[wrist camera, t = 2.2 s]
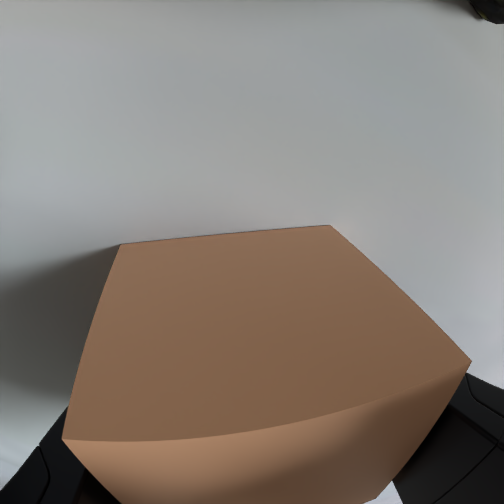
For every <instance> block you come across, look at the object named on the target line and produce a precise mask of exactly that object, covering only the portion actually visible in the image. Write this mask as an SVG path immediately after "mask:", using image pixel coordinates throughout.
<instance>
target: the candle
mask: <svg viewBox="0 0 504 504" xmlns="http://www.w3.org/2000/svg"><path fill="white" fill-rule="evenodd" d="M470 2H471V3H472V5H473V6H474V8H475V9H476V11H477V12H478V13H479V14H480V15H481V16H482V17H483V18H484V19H485V20H487V21H489V22H492V23H495V24H504V0H470Z"/></svg>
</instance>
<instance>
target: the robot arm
mask: <svg viewBox="0 0 504 504" xmlns="http://www.w3.org/2000/svg"><path fill="white" fill-rule="evenodd" d="M68 406H69V405H68ZM67 410H68V407H67V408H66V409H65V410H64V412H63V413H62V414H61V416H60V417H59V418H58V419H57V421H56V422H55V423H54V425H53V426H52V427H51V428H50V430H49V431H48V432H47V434H46V435H45V436H44V438H43V439H42V440H41V442H40V443H39V446H37V447H36V448H35V449H34V451H33V452H32V453H31V455H30V456H29V457H28V459H27V460H26V461H25V462H24V464H23V465H22V466H21V467H20V469H19V470H18V471H17V473H16V474H15V475H14V476H13V477H12V478H11V479H10V481H9V482H8V483H7V484H6V485H5V486H4V487H3V488H2V490H1V491H0V504H122V503H120V502H119V501H118V500H117V499H116V498H115V497H114V496H113V495H112V494H111V493H110V492H109V491H108V490H107V489H106V488H105V487H104V486H103V485H102V484H101V483H100V482H99V481H98V480H97V479H96V478H95V477H94V476H93V475H92V474H91V473H90V472H89V470H88V469H87V468H86V467H85V466H84V465H83V464H82V463H81V462H80V460H79V459H78V458H77V457H76V456H75V455H74V454H73V452H72V451H71V450H70V449H69V448H68V446H67V445H66V444H65V443H64V441H63V440H62V434H63V429H64V424H65V419H66V415H67ZM392 481H393V483H394V486H395V488H396V490H397V492H398V494H399V496H400V498H401V501H402V503H403V504H504V390H503V389H501V388H499V387H496V386H494V385H492V384H489V383H487V382H485V381H483V380H481V379H479V378H477V377H475V376H473V375H471V374H469V373H465V375H464V377H463V379H462V381H461V382H460V384H459V386H458V388H457V389H456V391H455V393H454V394H453V396H452V398H451V399H450V401H449V403H448V404H447V406H446V408H445V409H444V411H443V412H442V414H441V415H440V417H439V418H438V420H437V421H436V423H435V424H434V426H433V427H432V429H431V430H430V432H429V433H428V435H427V436H426V437H425V439H424V440H423V442H422V443H421V444H420V446H419V447H418V448H417V450H416V451H415V452H414V454H413V455H412V456H411V458H410V459H409V460H408V461H407V463H406V464H405V465H404V466H403V468H402V469H401V470H400V471H399V473H398V474H397V475H396V476H395V477H394V478H393V480H392Z"/></svg>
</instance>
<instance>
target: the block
mask: <svg viewBox="0 0 504 504" xmlns="http://www.w3.org/2000/svg"><path fill="white" fill-rule="evenodd" d="M471 362H472V361H471V360H470V359H469V357H468V356H467V355H466V354H465V353H464V352H463V351H462V350H461V349H460V348H459V347H458V346H457V345H456V344H455V343H454V342H453V340H452V339H451V338H450V337H449V336H448V335H447V334H446V333H445V332H444V331H443V330H442V329H441V328H440V327H439V326H438V325H437V324H436V323H435V322H434V321H433V320H432V319H431V318H430V317H429V316H428V315H427V314H426V313H425V312H424V311H423V310H422V309H421V308H420V307H419V306H418V305H417V304H416V303H415V302H414V301H413V300H412V299H411V298H410V297H409V296H408V295H407V294H406V293H405V292H404V291H402V290H401V289H400V288H399V287H398V286H397V285H396V284H395V283H394V282H393V281H392V280H391V279H390V278H389V277H388V276H387V275H386V274H384V273H383V272H382V271H381V270H380V269H379V268H378V267H377V266H376V265H375V264H374V263H373V262H371V261H370V260H369V259H368V258H367V257H366V256H365V255H364V254H363V253H362V252H360V251H359V250H358V249H357V248H356V247H355V246H354V245H353V244H351V243H350V242H349V241H348V240H347V239H346V238H345V237H343V236H342V235H341V234H340V233H339V232H338V231H337V230H335V229H334V228H333V227H332V226H331V225H325V226H312V227H300V228H287V229H275V230H264V231H252V232H241V233H230V234H219V235H209V236H198V237H188V238H178V239H168V240H158V241H148V242H139V243H129V244H121V245H120V247H119V250H118V252H117V255H116V257H115V260H114V262H113V265H112V267H111V270H110V273H109V275H108V278H107V281H106V283H105V286H104V289H103V291H102V294H101V297H100V300H99V303H98V306H97V308H96V311H95V314H94V317H93V320H92V323H91V327H90V330H89V333H88V336H87V339H86V343H85V346H84V349H83V353H82V356H81V360H80V363H79V367H78V370H77V374H76V378H75V382H74V385H73V389H72V393H71V397H70V402H69V406H68V410H67V415H66V419H65V424H64V429H63V434H62V440H63V441H64V443H65V444H66V445H67V446H68V448H69V449H70V450H71V451H72V452H73V454H74V455H75V456H76V457H77V458H78V459H79V460H80V462H81V463H82V464H83V465H84V466H85V467H86V468H87V469H88V470H89V472H90V473H91V474H92V475H93V476H94V477H95V478H96V479H97V480H98V481H99V482H100V483H101V484H102V485H103V486H104V487H105V488H106V489H107V490H108V491H109V492H110V493H111V494H112V495H113V496H114V497H115V498H116V499H117V500H118V501H119V502H120V503H122V504H363V503H366V502H368V501H371V500H373V499H376V498H377V497H378V495H379V494H380V493H381V492H382V491H383V490H384V489H385V488H386V487H387V485H388V484H389V483H390V482H391V481H392V480H393V478H394V477H395V476H396V475H397V474H398V473H399V471H400V470H401V469H402V468H403V466H404V465H405V464H406V463H407V461H408V460H409V459H410V458H411V456H412V455H413V454H414V452H415V451H416V450H417V448H418V447H419V446H420V444H421V443H422V442H423V440H424V439H425V437H426V436H427V435H428V433H429V432H430V430H431V429H432V427H433V426H434V424H435V423H436V421H437V420H438V418H439V417H440V415H441V414H442V412H443V411H444V409H445V408H446V406H447V404H448V403H449V401H450V399H451V398H452V396H453V394H454V393H455V391H456V389H457V388H458V386H459V384H460V382H461V381H462V379H463V377H464V375H465V373H466V371H467V370H468V368H469V366H470V364H471Z"/></svg>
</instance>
